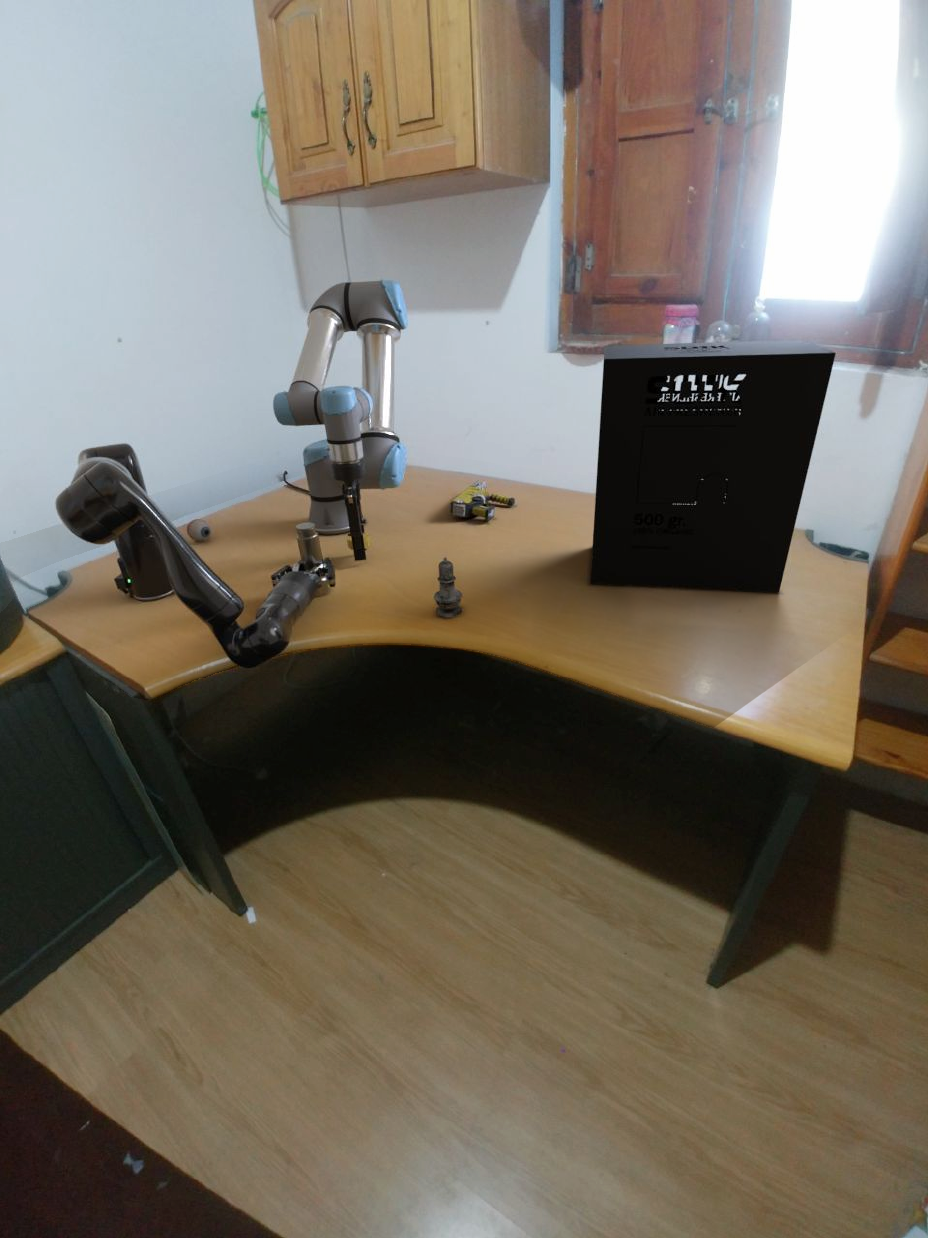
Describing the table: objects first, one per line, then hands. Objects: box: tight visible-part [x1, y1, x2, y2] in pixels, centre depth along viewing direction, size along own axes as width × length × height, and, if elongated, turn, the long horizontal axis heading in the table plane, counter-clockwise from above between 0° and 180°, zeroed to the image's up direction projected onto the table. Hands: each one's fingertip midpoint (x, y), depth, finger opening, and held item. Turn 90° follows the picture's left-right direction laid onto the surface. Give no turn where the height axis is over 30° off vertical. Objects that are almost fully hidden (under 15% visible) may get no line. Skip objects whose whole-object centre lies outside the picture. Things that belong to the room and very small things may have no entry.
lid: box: [346, 532, 372, 551], centre depth 146 cm, size 6×6×2 cm
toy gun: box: [449, 480, 516, 522], centre depth 174 cm, size 5×24×15 cm
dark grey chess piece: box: [433, 556, 463, 618], centre depth 120 cm, size 6×6×12 cm
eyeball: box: [186, 518, 212, 542], centre depth 162 cm, size 6×6×6 cm
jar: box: [295, 522, 329, 598], centre depth 130 cm, size 4×4×16 cm
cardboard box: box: [590, 338, 837, 594], centre depth 124 cm, size 38×20×45 cm, turn 78°
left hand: (317, 561), depth 133 cm, fingers closed on jar, 4 cm apart
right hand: (360, 554), depth 147 cm, fingers closed on lid, 5 cm apart
